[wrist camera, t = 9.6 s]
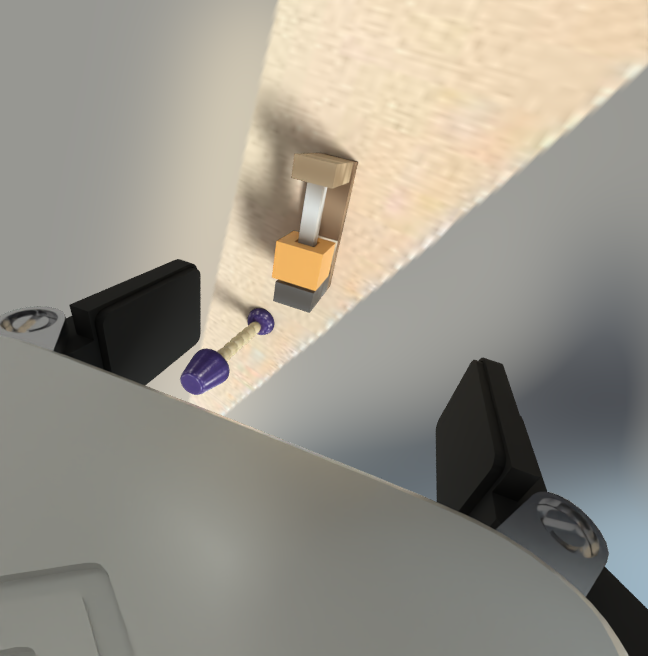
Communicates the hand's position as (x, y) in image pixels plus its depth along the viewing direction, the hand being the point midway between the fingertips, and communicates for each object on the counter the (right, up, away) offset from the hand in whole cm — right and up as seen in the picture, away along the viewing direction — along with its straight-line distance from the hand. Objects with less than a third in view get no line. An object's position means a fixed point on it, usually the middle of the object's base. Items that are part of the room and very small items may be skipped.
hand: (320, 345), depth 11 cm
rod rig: (0, +13, +29) cm, 32 cm away
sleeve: (-1, +9, +27) cm, 28 cm away
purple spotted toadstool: (-9, +2, +38) cm, 39 cm away
